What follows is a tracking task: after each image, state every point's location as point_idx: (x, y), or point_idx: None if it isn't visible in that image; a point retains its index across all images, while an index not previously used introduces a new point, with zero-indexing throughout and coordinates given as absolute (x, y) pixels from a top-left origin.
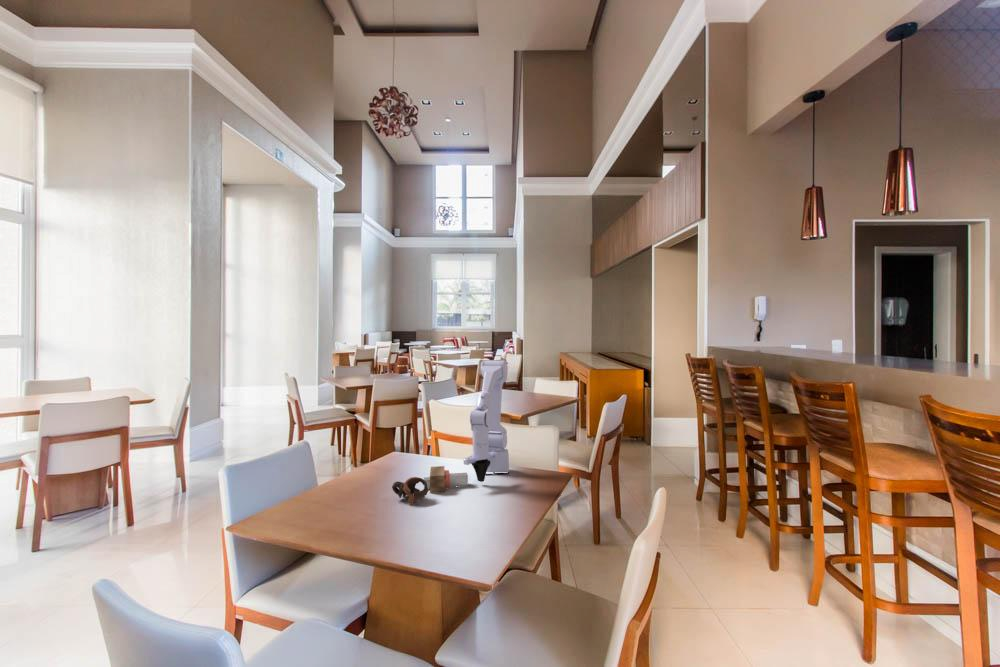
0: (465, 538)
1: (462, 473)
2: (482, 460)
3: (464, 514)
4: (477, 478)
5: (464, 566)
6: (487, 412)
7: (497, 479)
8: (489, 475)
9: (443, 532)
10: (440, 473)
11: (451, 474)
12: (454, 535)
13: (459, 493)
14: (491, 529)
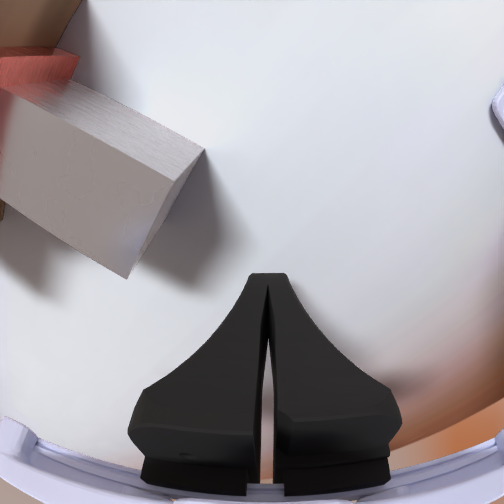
0: (39, 436)
1: (108, 177)
2: (282, 493)
3: (46, 406)
4: (245, 287)
5: None
6: None
7: (454, 254)
8: (500, 137)
9: (6, 407)
10: None
11: (6, 135)
12: (23, 423)
13: (61, 289)
14: (87, 455)
